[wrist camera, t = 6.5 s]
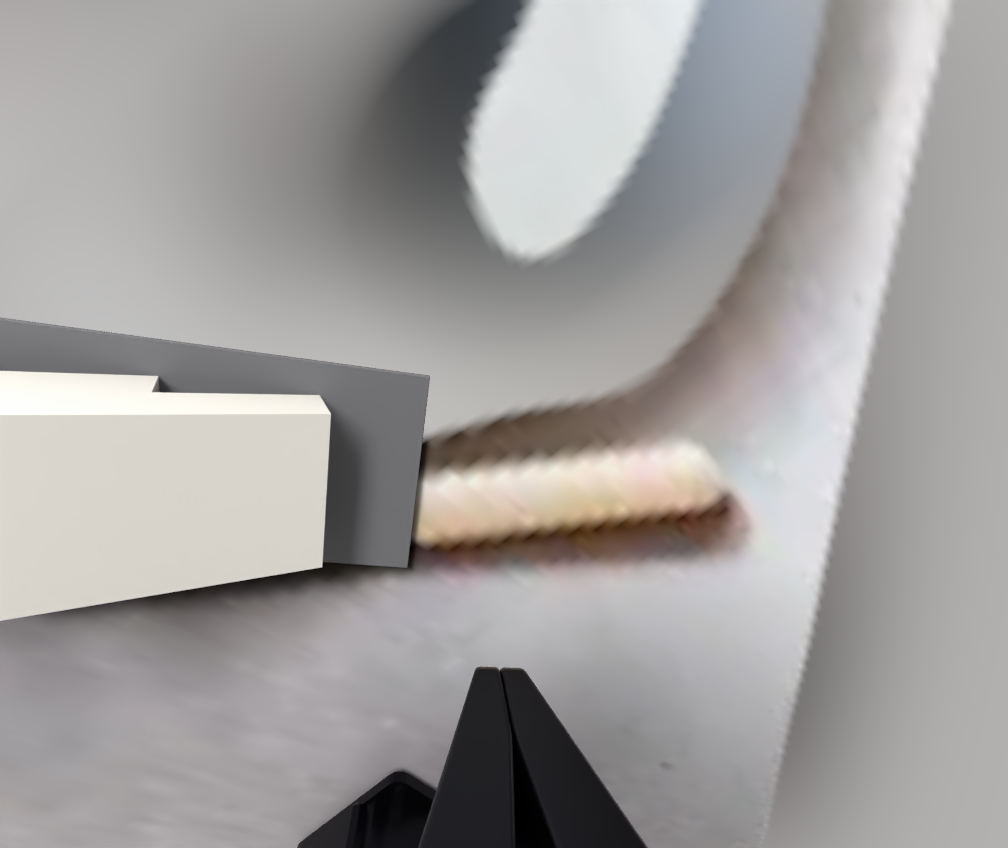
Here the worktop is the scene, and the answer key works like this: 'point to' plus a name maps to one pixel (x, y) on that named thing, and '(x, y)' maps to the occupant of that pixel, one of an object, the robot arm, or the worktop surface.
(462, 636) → the worktop surface
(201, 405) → the domino
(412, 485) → the strip
